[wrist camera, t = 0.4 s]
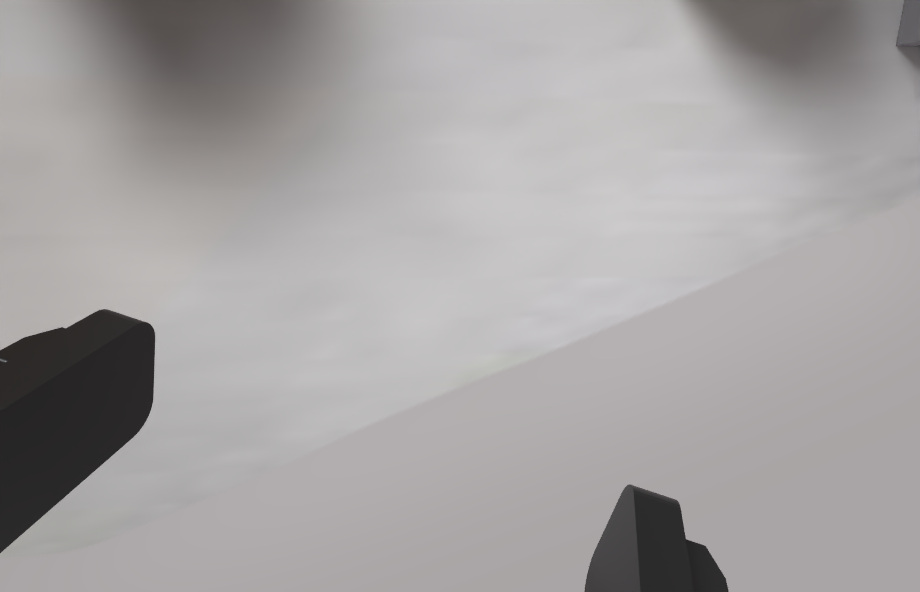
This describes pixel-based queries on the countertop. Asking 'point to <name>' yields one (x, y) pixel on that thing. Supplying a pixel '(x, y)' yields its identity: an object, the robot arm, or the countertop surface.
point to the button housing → (910, 24)
